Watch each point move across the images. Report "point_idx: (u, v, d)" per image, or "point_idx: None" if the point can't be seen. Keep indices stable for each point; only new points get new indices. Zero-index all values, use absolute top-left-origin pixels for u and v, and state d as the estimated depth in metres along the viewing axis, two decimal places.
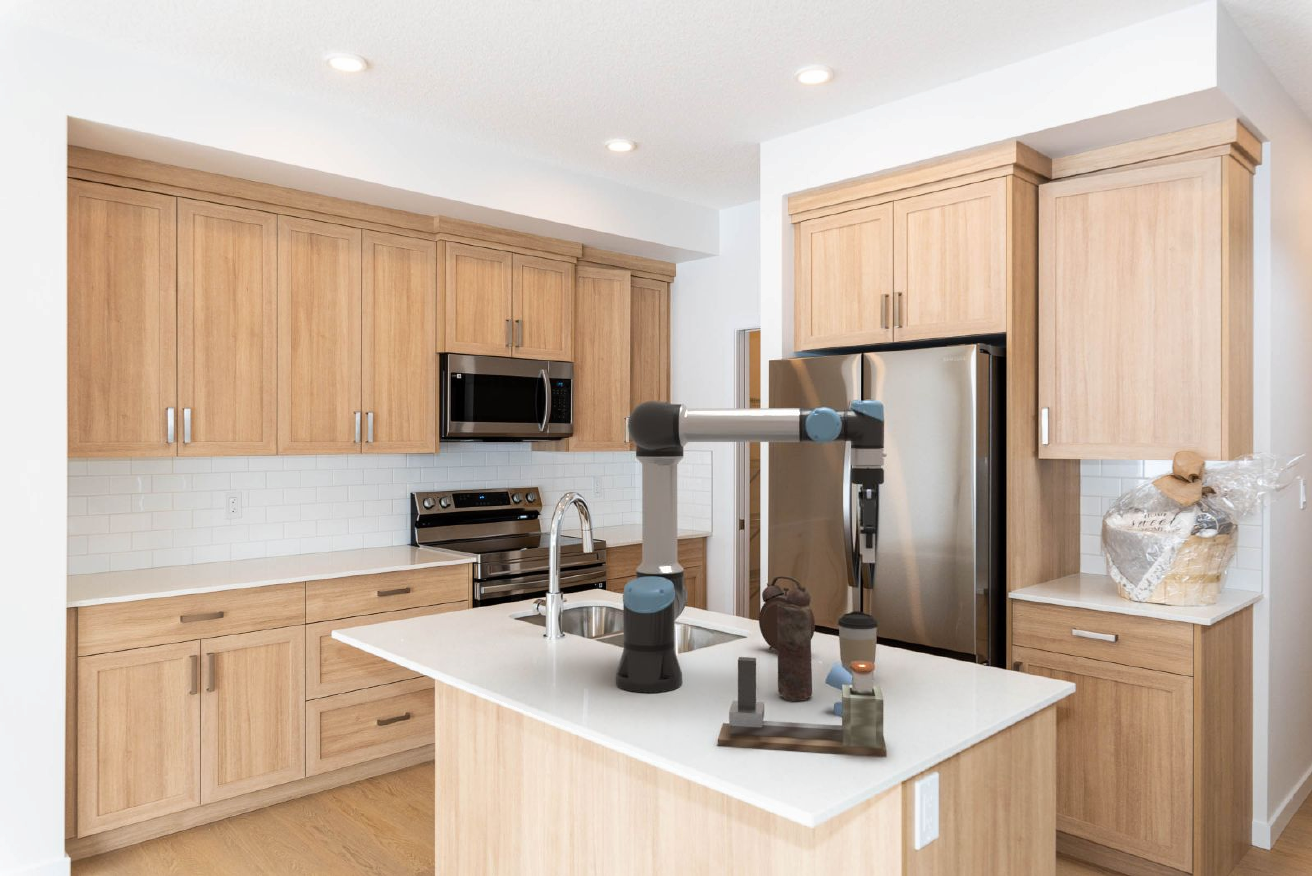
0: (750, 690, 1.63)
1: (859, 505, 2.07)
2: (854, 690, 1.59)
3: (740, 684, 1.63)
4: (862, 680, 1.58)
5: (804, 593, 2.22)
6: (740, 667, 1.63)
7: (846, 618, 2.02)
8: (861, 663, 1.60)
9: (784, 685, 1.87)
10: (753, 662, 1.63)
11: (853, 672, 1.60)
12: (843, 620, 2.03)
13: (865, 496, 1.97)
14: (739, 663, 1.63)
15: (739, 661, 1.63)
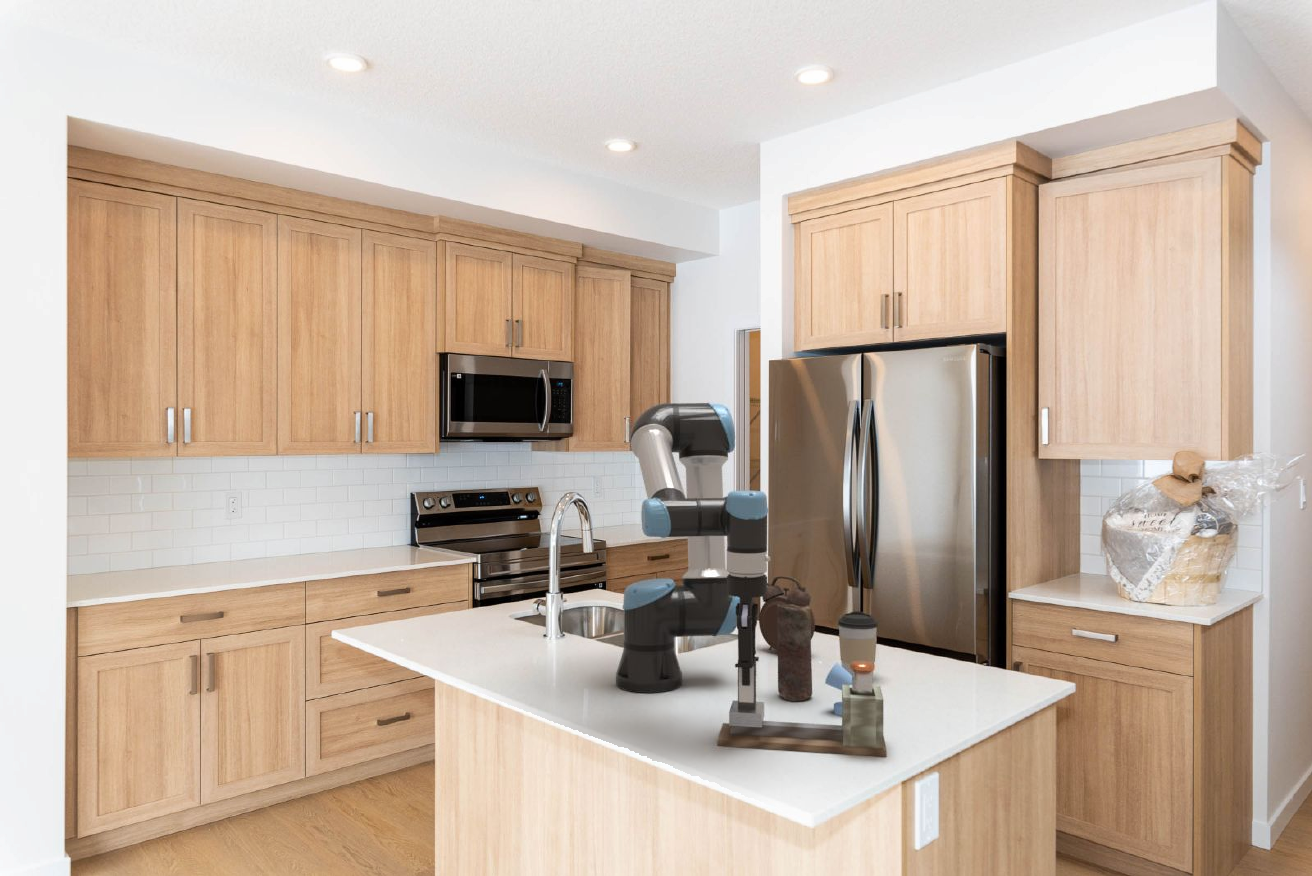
0: None
1: None
2: (854, 690, 1.59)
3: None
4: (862, 680, 1.58)
5: (804, 593, 2.22)
6: None
7: (846, 618, 2.02)
8: (861, 663, 1.60)
9: (784, 685, 1.87)
10: (753, 662, 1.63)
11: (853, 672, 1.60)
12: (843, 620, 2.03)
13: (740, 625, 1.58)
14: None
15: None
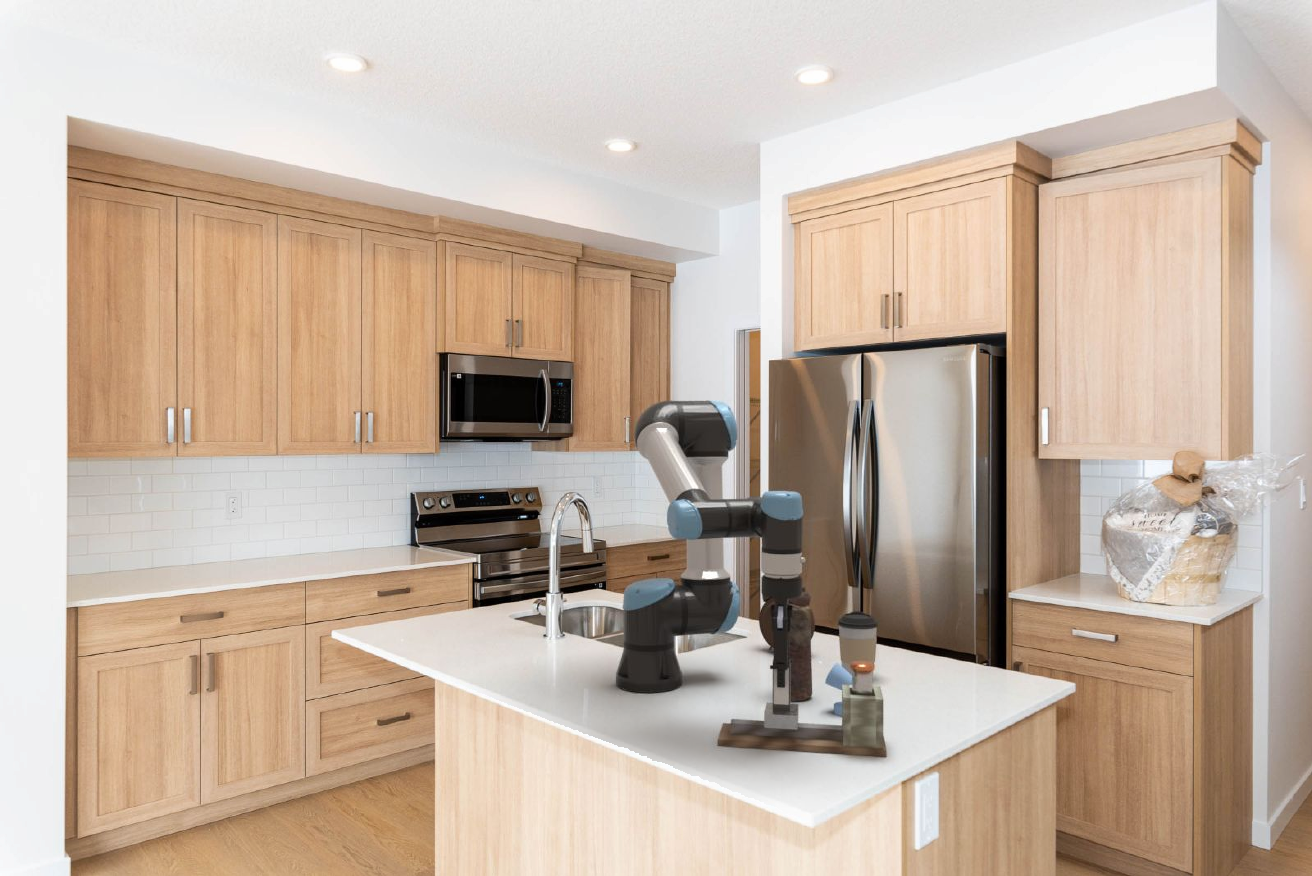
0: None
1: None
2: (854, 690, 1.59)
3: None
4: (862, 680, 1.58)
5: (804, 593, 2.22)
6: None
7: (846, 618, 2.02)
8: (861, 663, 1.60)
9: None
10: (788, 664, 1.61)
11: (853, 672, 1.60)
12: (843, 620, 2.03)
13: (775, 626, 1.57)
14: None
15: None
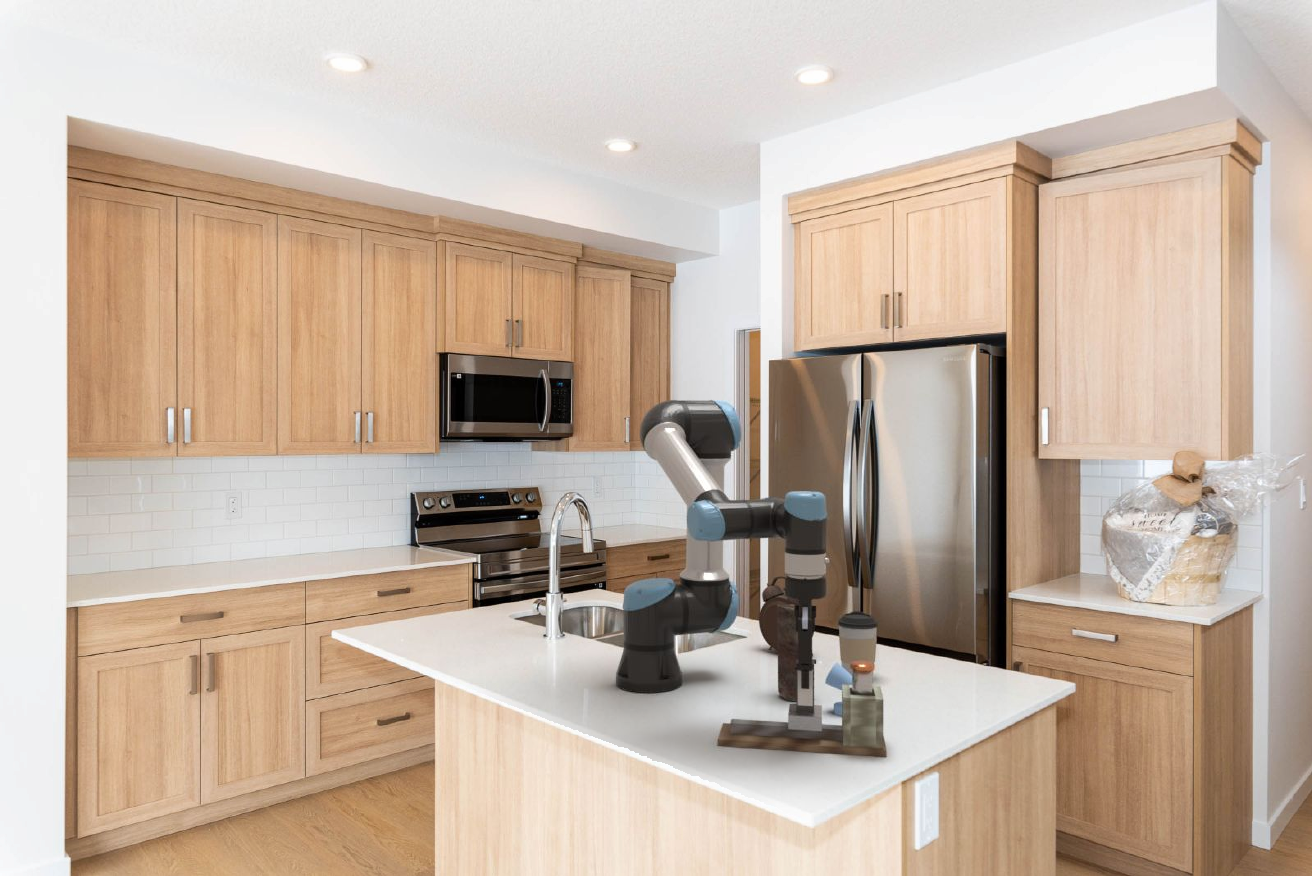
0: None
1: None
2: (854, 690, 1.59)
3: None
4: (862, 680, 1.58)
5: None
6: None
7: (846, 618, 2.02)
8: (861, 663, 1.60)
9: (784, 685, 1.87)
10: None
11: (853, 672, 1.60)
12: (843, 620, 2.03)
13: (800, 627, 1.56)
14: None
15: None
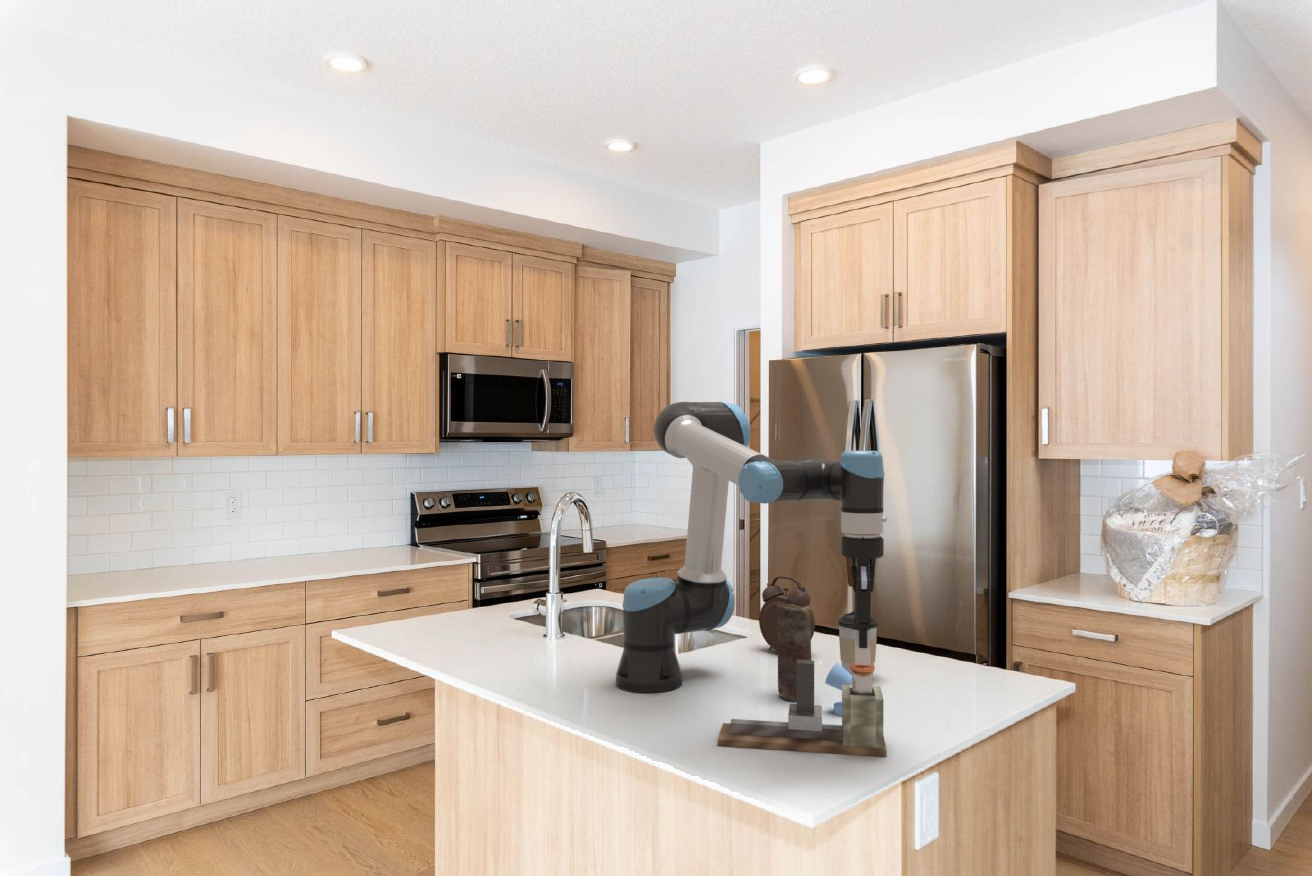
0: (809, 693, 1.61)
1: None
2: (854, 692, 1.59)
3: (799, 687, 1.61)
4: (862, 682, 1.58)
5: (804, 593, 2.22)
6: (798, 670, 1.61)
7: (846, 618, 2.02)
8: (861, 665, 1.60)
9: (784, 685, 1.87)
10: (812, 665, 1.61)
11: (853, 674, 1.60)
12: (843, 620, 2.03)
13: (859, 588, 1.54)
14: (798, 666, 1.61)
15: (798, 664, 1.61)
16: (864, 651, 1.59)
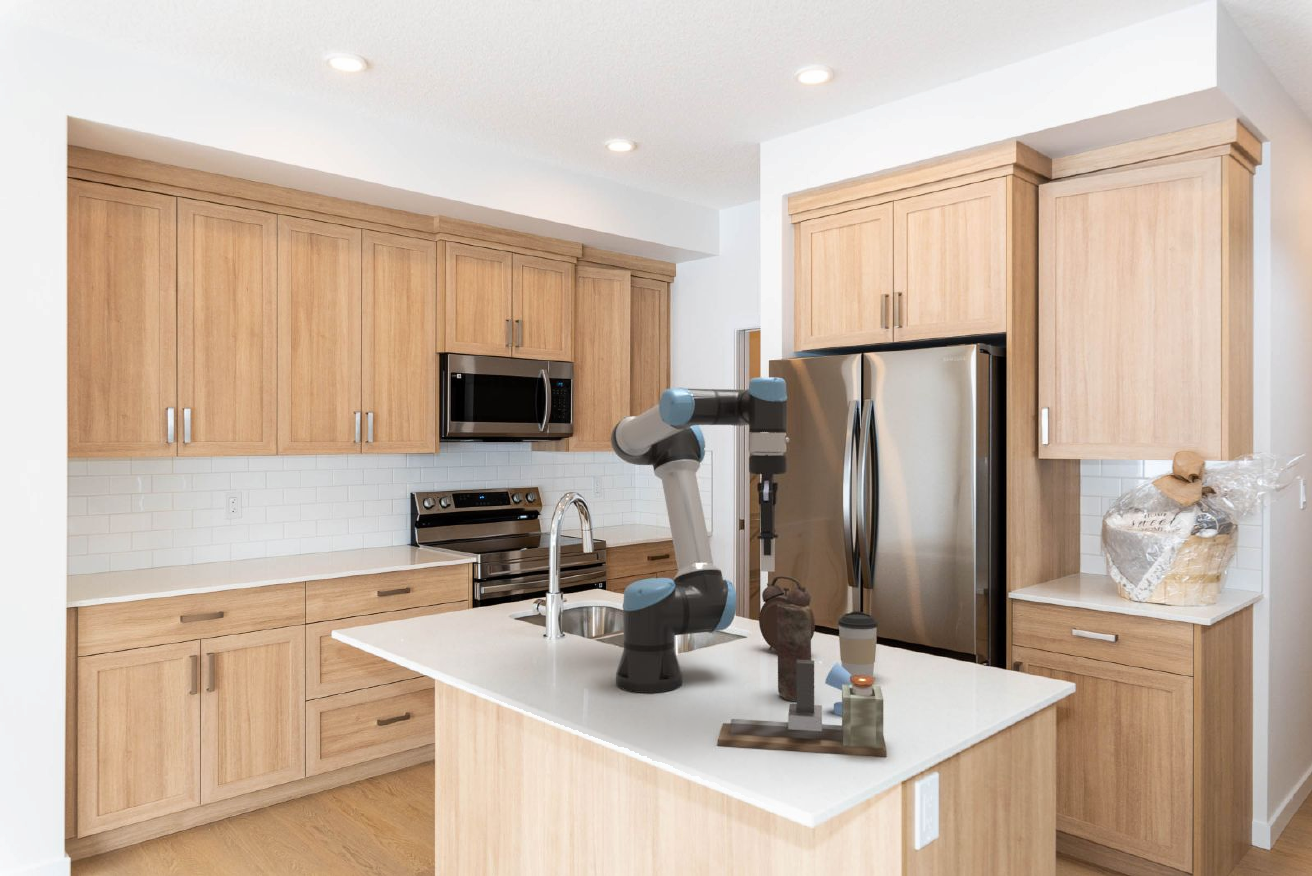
0: (809, 693, 1.61)
1: None
2: None
3: (799, 687, 1.61)
4: (862, 694, 1.58)
5: (804, 593, 2.22)
6: (798, 670, 1.61)
7: (846, 618, 2.02)
8: (861, 677, 1.60)
9: (784, 685, 1.87)
10: (812, 665, 1.61)
11: (853, 686, 1.60)
12: (843, 620, 2.03)
13: (762, 499, 1.72)
14: (798, 666, 1.61)
15: (798, 664, 1.61)
16: (768, 558, 1.76)
